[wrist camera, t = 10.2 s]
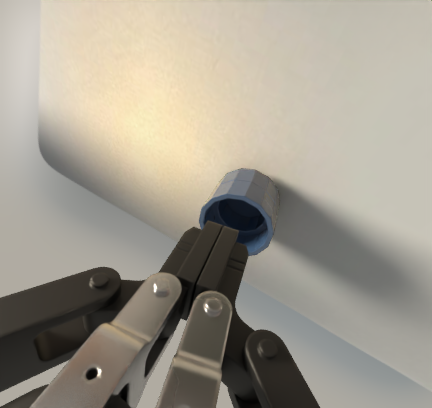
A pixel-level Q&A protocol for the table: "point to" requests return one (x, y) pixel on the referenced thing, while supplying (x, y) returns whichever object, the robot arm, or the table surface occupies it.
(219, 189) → the blue faceted tumbler
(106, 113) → the table surface
